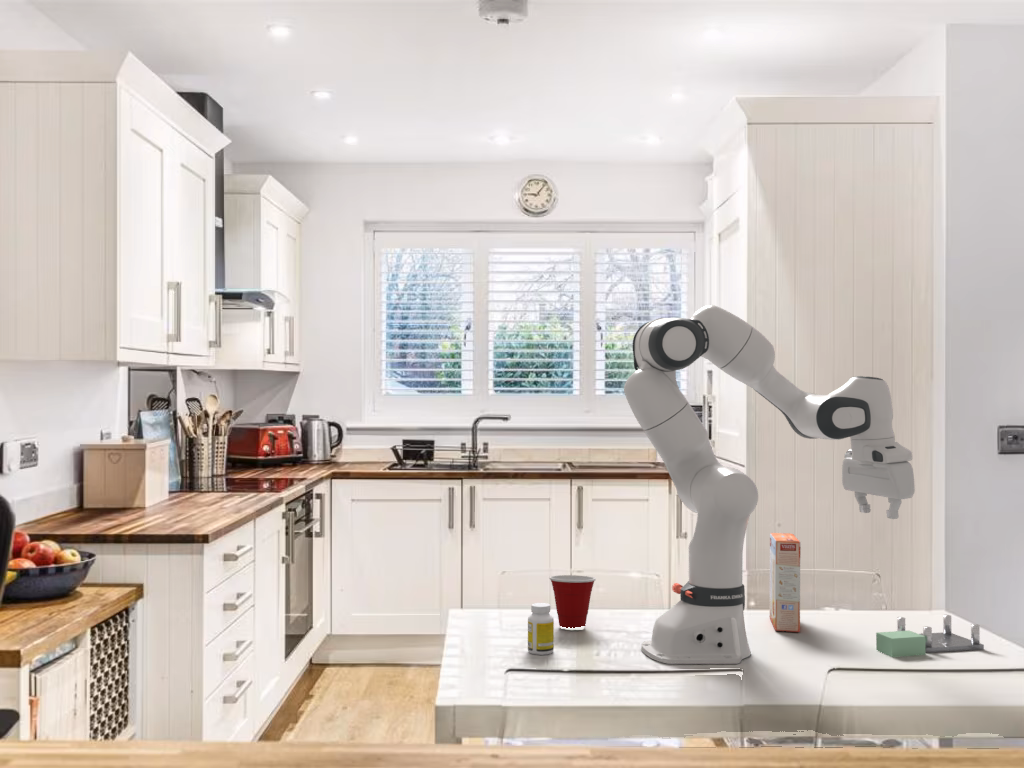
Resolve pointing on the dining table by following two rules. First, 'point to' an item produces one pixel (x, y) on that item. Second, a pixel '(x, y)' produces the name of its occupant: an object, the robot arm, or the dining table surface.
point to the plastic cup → (572, 598)
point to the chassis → (946, 637)
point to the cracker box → (785, 582)
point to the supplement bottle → (540, 630)
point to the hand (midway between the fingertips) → (878, 515)
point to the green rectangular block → (900, 643)
